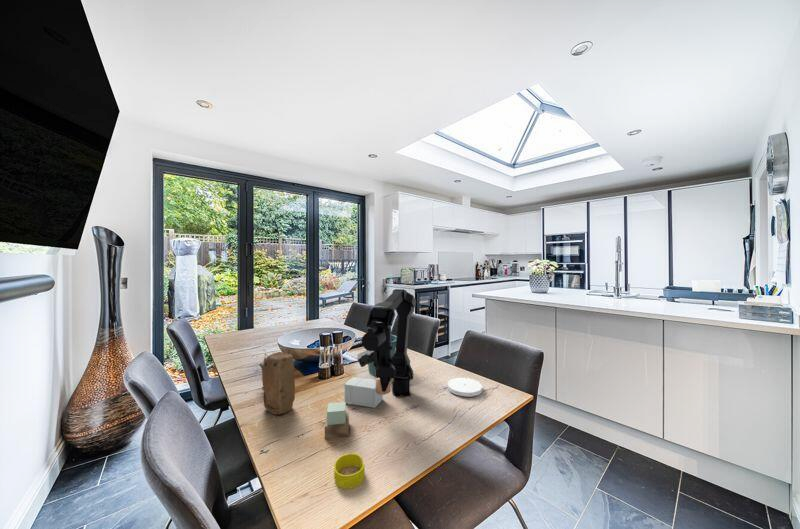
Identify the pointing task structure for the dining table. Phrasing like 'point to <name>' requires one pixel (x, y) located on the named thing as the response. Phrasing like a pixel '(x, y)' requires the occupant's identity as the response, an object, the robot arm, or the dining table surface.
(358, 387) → the supplement box
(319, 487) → the dining table surface
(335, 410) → the top block
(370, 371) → the flower pot
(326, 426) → the bottom block
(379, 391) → the brown oval piece
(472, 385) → the plastic lid
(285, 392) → the block
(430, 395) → the dining table surface
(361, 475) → the bracelet
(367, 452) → the dining table surface
